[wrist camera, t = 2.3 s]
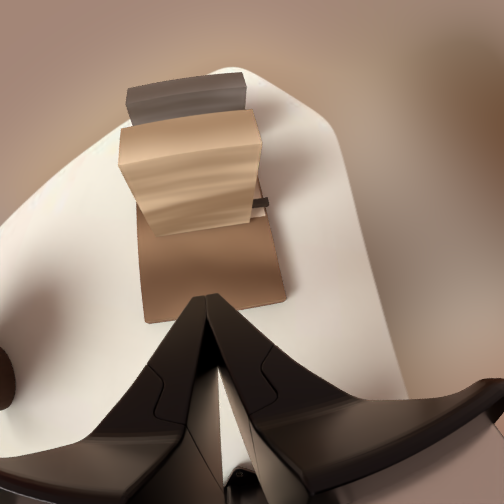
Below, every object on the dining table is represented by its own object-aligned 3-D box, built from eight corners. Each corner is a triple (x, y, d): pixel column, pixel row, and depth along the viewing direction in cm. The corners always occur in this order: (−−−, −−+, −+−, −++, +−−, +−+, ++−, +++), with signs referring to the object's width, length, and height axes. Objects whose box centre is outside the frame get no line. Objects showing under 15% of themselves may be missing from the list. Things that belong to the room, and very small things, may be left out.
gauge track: (283, 302, 22) (307, 276, 15) (149, 323, 21) (114, 307, 14) (243, 130, 27) (248, 71, 20) (139, 145, 26) (121, 90, 19)
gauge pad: (270, 219, 22) (293, 141, 14) (155, 237, 21) (118, 165, 13) (263, 191, 23) (281, 107, 15) (153, 207, 22) (120, 128, 14)
